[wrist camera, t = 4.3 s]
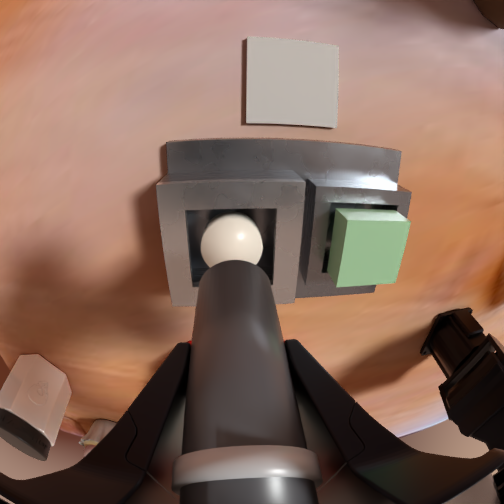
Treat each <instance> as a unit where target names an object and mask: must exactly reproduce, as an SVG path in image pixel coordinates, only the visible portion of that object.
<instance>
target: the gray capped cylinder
mask: <svg viewBox="0 0 504 504" xmlns="http://www.w3.org/2000/svg"><path fill="white" fill-rule="evenodd" d="M322 483H323V478H322V474H321V469H320V465H319V461H318V457H317V455H316V454H315V453H314V452H312V451H311V450H308V449H307V444H306V439H305V435H304V430H303V426H302V421H301V416H300V412H299V407H298V403H297V398H296V394H295V389H294V384H293V380H292V375H291V371H290V367H289V362H288V358H287V353H286V349H285V344H284V340H283V336H282V331H281V327H280V322H279V318H278V314H277V309H276V305H275V301H274V296H273V292H272V288H271V283H270V280H269V278H268V276H267V275H266V273H265V272H264V271H263V270H262V269H261V268H260V267H258V266H257V265H255V264H253V263H251V262H247V261H243V260H227V261H223V262H220V263H218V264H215V265H214V266H212V267H211V268H209V269H208V270H207V271H206V272H205V273H204V275H203V276H202V278H201V280H200V283H199V289H198V296H197V304H196V311H195V319H194V327H193V335H192V343H191V352H190V361H189V370H188V380H187V390H186V401H185V413H184V426H183V440H182V456H180V457H178V458H176V459H175V460H174V462H173V467H172V484H171V490H172V491H173V492H174V493H175V494H177V495H179V496H180V504H319V501H318V497H317V492H316V488H318V487H319V486H320V485H321V484H322Z"/></svg>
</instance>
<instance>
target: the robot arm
mask: <svg viewBox="0 0 504 504" xmlns="http://www.w3.org/2000/svg"><path fill="white" fill-rule="evenodd" d="M472 311H473V310H472V309H471V308H467V309H462V310H458V311H453V312H448V313H443V314H440V315H439V316H438V317H437V319H436V321H435V323H434V325H433V327H432V330H431V332H430V334H429V336H428V338H427V340H426V342H425V344H424V346H423V348H422V350H421V352H420V353H421V355H422V356H423V355H427V354H432V356H433V357H434V359H435V360H436V362H437V364H438V365H439V367H440V368H441V370H442V371H443V373H444V375H445V376H446V378H447V380H446V381H445V382H444V383H443V384H441V385H440V386H439V387H438V388H439V390H440V395H441V397H442V400H443V403H444V406H445V409H446V412H447V415H448V418H449V420H452V421H453V422H454V423H455V424H456V425H458V427H459V430H460V432H461V433H462V434H463V435H465V436H467V437H469V436H470V437H473V438H475V439H477V440H479V441H482V442H484V443H486V445H487V447H488V449H489V452H487V453H486V454H484V455H483V456H481V457H477V458H472V459H468V458H457V457H450V456H442V455H436V454H430V453H425V452H421V451H418V450H416V449H414V448H411V447H410V446H408V445H407V444H405V443H404V442H403V441H401V440H400V439H399V438H398V437H396V436H395V435H394V434H392V433H391V432H390V431H388V430H387V429H386V428H385V427H383V426H382V425H381V424H380V423H378V422H377V421H376V420H375V419H374V418H372V417H371V416H370V415H369V414H368V413H367V412H366V411H365V410H364V409H363V408H362V407H361V406H360V405H359V404H358V403H357V402H355V400H354V399H353V398H352V397H351V396H350V395H349V394H348V393H347V392H346V391H345V390H344V389H343V388H342V387H341V386H340V385H339V383H338V382H337V381H336V380H335V379H334V378H333V377H332V376H331V375H330V374H329V373H328V372H327V371H326V370H325V369H324V368H323V367H322V366H321V365H320V364H319V363H318V362H317V360H316V359H315V358H314V357H313V356H312V355H311V354H310V353H309V352H308V351H307V350H306V349H305V348H304V347H303V346H302V345H301V343H300V342H299V341H298V340H296V339H292V340H286V341H285V342H284V344H285V349H286V353H287V358H288V362H289V367H290V371H291V375H292V380H293V384H294V389H295V394H296V398H297V403H298V407H299V412H300V416H301V421H302V426H303V430H304V435H305V439H306V444H307V449H308V450H311V451H312V452H314V453H315V454H316V455H317V457H318V461H319V465H320V469H321V474H322V478H323V483H322V484H321V485H320V486H319V487H318V488H316V492H317V497H318V501H319V504H504V347H503V345H502V344H501V343H500V342H499V341H498V340H497V339H496V338H495V337H493V336H492V335H491V334H490V333H489V334H488V335H487V336H485V335H484V334H483V328H482V327H481V325H480V324H479V323H478V322H477V321H476V320H475V318H474V317H473V316H472V315H471V314H472ZM495 350H496V353H494V351H495ZM190 352H191V344H190V343H182V342H180V343H178V344H177V345H176V346H175V348H174V349H173V350H172V352H171V353H170V354H169V356H168V357H167V358H166V360H165V361H164V362H163V363H162V365H161V366H160V367H159V369H158V370H157V371H156V373H155V374H154V375H153V377H152V378H151V379H150V381H149V382H148V383H147V384H146V386H145V387H144V388H143V390H142V391H141V392H140V394H139V395H138V396H137V398H136V399H135V400H134V402H133V403H132V404H131V406H130V407H129V408H128V411H126V412H125V413H124V415H123V416H122V417H121V418H120V420H119V421H118V422H117V423H116V425H115V426H114V427H113V428H112V429H111V430H110V431H109V433H108V434H107V435H106V436H105V437H104V438H103V439H102V440H101V441H100V442H99V443H98V444H97V445H96V446H95V447H94V448H93V449H92V450H91V451H90V452H89V453H88V454H87V455H86V456H85V457H84V458H83V459H82V460H81V461H79V462H78V463H77V464H75V465H74V466H72V467H70V468H67V469H64V470H61V471H58V472H54V473H51V474H47V475H43V476H40V477H36V478H32V479H27V480H15V479H12V478H9V477H8V476H6V475H4V474H3V473H0V495H2V496H3V497H5V498H6V499H8V500H10V501H12V502H13V503H15V504H180V496H179V495H177V494H175V493H174V492H173V491H172V490H171V484H172V467H173V462H174V460H175V459H176V458H178V457H180V456H182V440H183V426H184V413H185V401H186V390H187V380H188V370H189V361H190ZM496 469H497V470H498V472H497V473H496V474H494V475H493V476H492V474H491V473H492V472H493V471H494V470H496ZM0 504H9V503H8V502H6V501H5V500H3V499H1V498H0Z"/></svg>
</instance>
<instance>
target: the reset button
mask: <svg viewBox="0 0 504 504" xmlns="http://www.w3.org/2000/svg"><path fill="white" fill-rule="evenodd" d="M262 250H263V244H262V239H261V235H260V231H259V228H258V226H257V224H256V223H255V222H254V221H253V220H252V219H251V218H250V217H249V216H247V215H245V214H243V213H240V212H235V211H229V212H223V213H220V214H218V215H216V216H215V217H213V218H212V219H211V220H210V221H209V222H208V223H207V225H206V227H205V229H204V232H203V236H202V241H201V254H202V257H203V259H204V261H205V262H206V264H207V265H208V266H209V267H210V268H211V267H212V266H214V265H215V264H218V263H220V262H223V261H227V260H243V261H247V262H251V263H253V264H255V265H256V264H257V263H258V261H259V260H260V258H261V255H262Z"/></svg>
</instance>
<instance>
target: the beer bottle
mask: <svg viewBox="0 0 504 504" xmlns="http://www.w3.org/2000/svg"><path fill="white" fill-rule="evenodd" d="M473 1H474V2H475V4H476V5H477V7H478V8H479V10H480V12H481V13H482V15H483V16H484V17H486V18H487V19H488V20H490V21H491V22H492V23H493V24H495V25H496V26H497V27H498V28H500V29H504V0H473Z"/></svg>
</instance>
